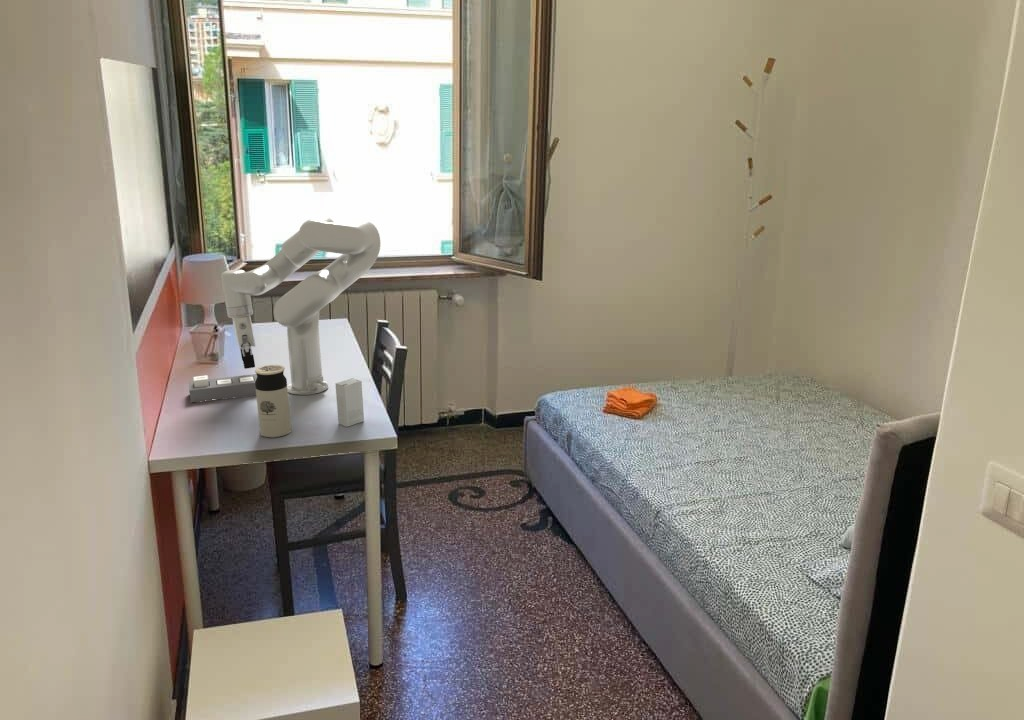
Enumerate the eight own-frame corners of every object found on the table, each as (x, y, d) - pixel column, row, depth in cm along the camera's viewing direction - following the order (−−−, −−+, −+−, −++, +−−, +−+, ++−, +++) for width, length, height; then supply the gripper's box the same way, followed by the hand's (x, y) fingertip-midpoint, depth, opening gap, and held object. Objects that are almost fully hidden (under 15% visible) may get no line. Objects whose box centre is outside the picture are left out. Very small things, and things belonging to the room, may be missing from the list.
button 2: (253, 384, 243) (252, 376, 242) (254, 388, 239) (253, 380, 239) (240, 385, 242) (239, 377, 241) (241, 389, 238) (240, 381, 237)
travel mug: (273, 425, 214) (267, 363, 209) (297, 429, 211) (291, 366, 206) (254, 435, 207) (247, 371, 202) (278, 440, 204) (272, 374, 199)
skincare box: (355, 417, 219) (352, 377, 216) (365, 421, 217) (362, 380, 213) (337, 424, 215) (334, 382, 211) (347, 428, 212) (344, 385, 209)
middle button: (231, 386, 241) (230, 378, 240) (232, 390, 237) (231, 382, 236) (218, 388, 239) (217, 380, 239) (218, 392, 236) (217, 384, 235)
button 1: (208, 383, 238) (207, 375, 237) (208, 386, 234) (208, 378, 233) (194, 384, 236) (193, 376, 236) (194, 388, 233) (193, 380, 232)
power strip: (262, 385, 247) (261, 373, 246) (265, 394, 239) (263, 381, 238) (190, 393, 239) (189, 381, 238) (190, 403, 231) (189, 390, 230)
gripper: (254, 314, 232) (263, 368, 237) (250, 303, 247) (258, 355, 252) (228, 317, 229) (237, 373, 234) (225, 307, 245) (234, 359, 249)
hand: (248, 363), depth 243 cm, fingers open, 9 cm apart
